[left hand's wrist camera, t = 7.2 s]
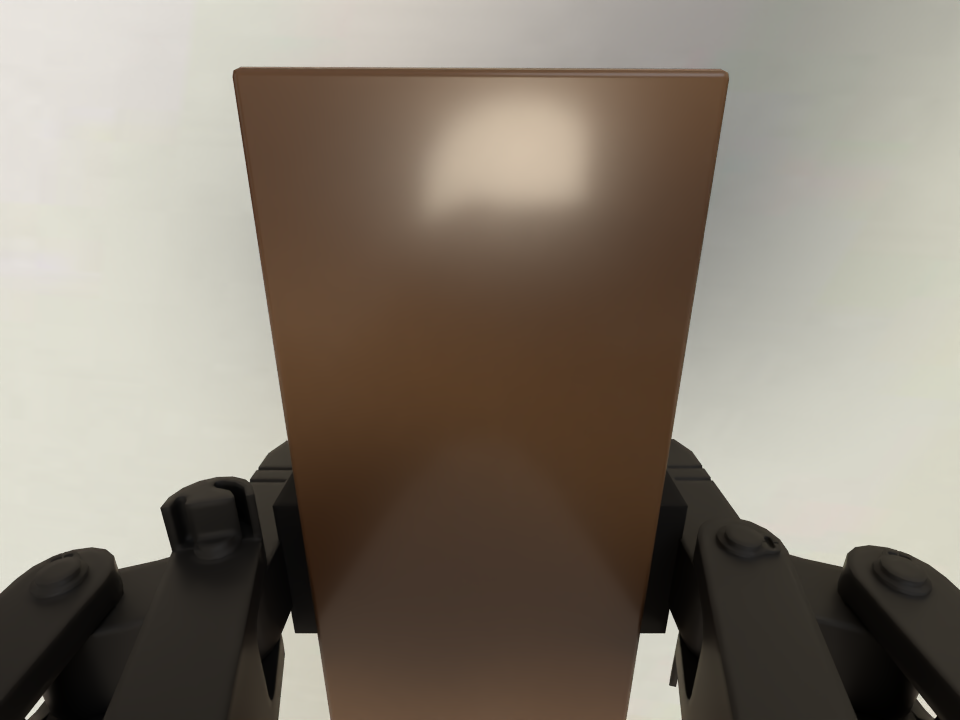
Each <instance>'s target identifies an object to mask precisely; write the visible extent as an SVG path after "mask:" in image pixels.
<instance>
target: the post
mask: <svg viewBox="0 0 960 720" xmlns="http://www.w3.org/2000/svg"><path fill="white" fill-rule="evenodd" d="M233 82H234V89H235V95H236V102H237V108H238V115H239V122H240V128H241V135H242V141H243V148H244V154H245V161H246V168H247V174H248V181H249V187H250V194H251V200H252V207H253V213H254V220H255V227H256V233H257V240H258V246H259V253H260V259H261V266H262V272H263V279H264V286H265V292H266V299H267V305H268V312H269V318H270V325H271V331H272V338H273V345H274V351H275V358H276V364H277V371H278V377H279V384H280V390H281V397H282V404H283V410H284V417H285V423H286V430H287V436H288V443H289V450H290V456H291V463H292V469H293V476H294V482H295V489H296V495H297V502H298V509H299V515H300V522H301V528H302V535H303V541H304V548H305V554H306V561H307V568H308V574H309V581H310V587H311V594H312V600H313V607H314V613H315V620H316V627H317V633H318V640H319V646H320V653H321V659H322V666H323V673H324V679H325V686H326V692H327V699H328V705H329V712H330V718H331V720H626V717H627V711H628V705H629V698H630V692H631V686H632V680H633V673H634V667H635V661H636V655H637V649H638V642H639V636H640V630H641V624H642V617H643V611H644V605H645V599H646V592H647V586H648V580H649V574H650V568H651V561H652V555H653V549H654V543H655V536H656V530H657V524H658V518H659V512H660V505H661V499H662V493H663V487H664V480H665V474H666V468H667V462H668V456H669V449H670V443H671V437H672V431H673V424H674V418H675V412H676V406H677V400H678V393H679V387H680V381H681V375H682V368H683V362H684V356H685V350H686V343H687V337H688V331H689V325H690V319H691V312H692V306H693V300H694V294H695V287H696V281H697V275H698V269H699V263H700V256H701V250H702V244H703V238H704V231H705V225H706V219H707V213H708V207H709V200H710V194H711V188H712V182H713V175H714V169H715V163H716V157H717V150H718V144H719V138H720V132H721V126H722V119H723V113H724V107H725V101H726V94H727V88H728V82H729V76H728V72H726V71H724V70H722V69H611V68H393V67H240V68H238V69H236V70H234V71H233Z"/></svg>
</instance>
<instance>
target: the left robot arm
mask: <svg viewBox="0 0 960 720" xmlns="http://www.w3.org/2000/svg"><path fill="white" fill-rule="evenodd" d="M160 509H161V512H162V516H163V519H164V523H165V527H166V530H167V534H168V538H169V541H170V545H171V548H172V554H171V556H170V557H168V558H165V559H161V560H158V561H153V562H149V563H144V564H140V565H135V566H130V567H126V568H121V569H118V567H117V564H116V561H115V558H114V556H113V555H112V554H111V553H110V552H108V551H107V550H106V549H100V548H93V547H91V548H83V549H76V550H71V551H68V552H64V553H61V554H58V555H56V556H53V557H51V558H49V559H47V560H45V561H43V562H41V563H39V564H37V565H35V566H33V567H32V568H30V569H29V570H28V571H26V572H25V573H24V574H22V575H21V576H20V577H18V578H17V579H16V580H15V581H14V582H12V583H11V584H10V585H9V586H8V587H7V588H6V589H5V590H4V591H3V592H2V593H1V594H0V720H26V719H25V717H26V716H27V714H28V713H29V712H30V711H31V709H32V708H33V707H34V705H35V704H36V703H37V702H38V700H39V699H40V698H41V697H42V695H43V697H44V699H45V701H44V702H43V704H42V705H41V706H40V708H39V709H38V710H37V711H36V712H35V713H34V714H33V715H32V716H31V717H30V718H29V719H28V720H278V717H279V707H280V697H281V687H282V677H283V667H284V657H285V652H284V645H283V639H282V634H281V633H282V631H283V628H284V626H285V624H286V621H287V619H288V616H289V614H290V612H291V613H292V618H293V624H294V630H295V633H317V627H316V620H315V613H314V607H313V600H312V594H311V587H310V581H309V574H308V568H307V561H306V554H305V548H304V541H303V535H302V528H301V522H300V515H299V509H298V502H297V495H296V489H295V482H294V476H293V469H292V463H291V456H290V450H289V443H288V441H286V442H284V443H283V444H281V445H280V446H278V447H277V448H275V449H274V450H273V451H271V452H270V453H268V455H267V456H266V458H265V459H264V461H263V462H262V463H261V465H260V466H259V470H256V472H255V473H254V475H253V476H252V477H251V479H250V482H248V481H247V480H245V479H241V478H237V477H215V478H211V479H207V480H202V481H199V482H196V483H194V484H191V485H189V486H187V487H184V488H182V489H181V490H179V491H178V492H176V493H175V494H173V495H172V496H170V497H169V498H168V499H167V500H166V502H165V503H164V504H163V505H162V507H161V508H160ZM669 609H670V611H671V613H672V615H673V618H674V620H675V623H676V625H677V627H678V630H679V634H678V639H677V644H676V650H675V655H674V660H673V665H672V671H671V676H670V683H669V685H670V686H674V687H676V684H677V679H678V686H679V695H680V705H681V715H682V720H960V590H959V589H958V588H957V587H956V586H955V585H954V584H953V583H952V582H950V581H949V580H948V579H947V578H946V577H945V576H943V575H942V574H941V573H939V572H938V571H937V570H935V569H934V568H933V567H931V566H930V565H929V564H927V563H925V562H923V561H921V560H919V559H917V558H915V557H913V556H911V555H909V554H906V553H904V552H901V551H897V550H894V549H890V548H887V547H879V546H871V545H867V546H861V547H855V548H854V549H853V550H851V551H850V552H849V553H848V554H847V556H846V559H845V562H844V565H843V567H840V566H835V565H831V564H826V563H822V562H817V561H812V560H808V559H803V558H800V557H796V556H793V555H789V553H788V550H787V549H786V548H785V546H784V545H783V543H782V542H781V540H780V539H779V538H777V537H776V536H775V535H773V534H772V533H771V532H770V531H768V530H767V529H765V528H763V527H761V526H759V525H757V524H754V523H752V522H750V521H746V520H742V519H740V518H739V516H738V515H737V514H736V512H735V511H734V509H733V508H732V507H731V505H730V504H729V502H728V501H727V500H726V498H725V497H724V496H723V494H722V493H721V491H720V490H719V489H718V487H717V486H716V484H715V483H714V482H713V481H711V477H710V476H709V475H708V473H707V472H706V470H705V469H702V465H701V463H700V462H699V461H698V459H697V458H696V457H695V455H694V454H693V452H692V451H690V450H689V449H688V448H686V447H685V446H683V445H682V444H680V443H679V442H677V441H676V440H674V439H671V443H670V449H669V456H668V462H667V468H666V474H665V480H664V487H663V493H662V499H661V505H660V512H659V518H658V524H657V530H656V536H655V543H654V549H653V555H652V561H651V568H650V574H649V580H648V586H647V592H646V599H645V605H644V611H643V617H642V624H641V630H640V633H665V632H666V626H667V620H668V615H669ZM918 694H920V695H921V696H922V697H923V699H924V700H925V701H926V702H927V704H928V705H929V706H930V707H931V709H932V710H933V711H934V712H935V714H936V715H937V717H936V718H933V717H932V716H931V715H930V714H929V713H928V712H927V711H926V710H925V709H924V708H923V707H922V705H921V704H920V703H919V701H918V700H917V699H916V698H917V696H918Z"/></svg>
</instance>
